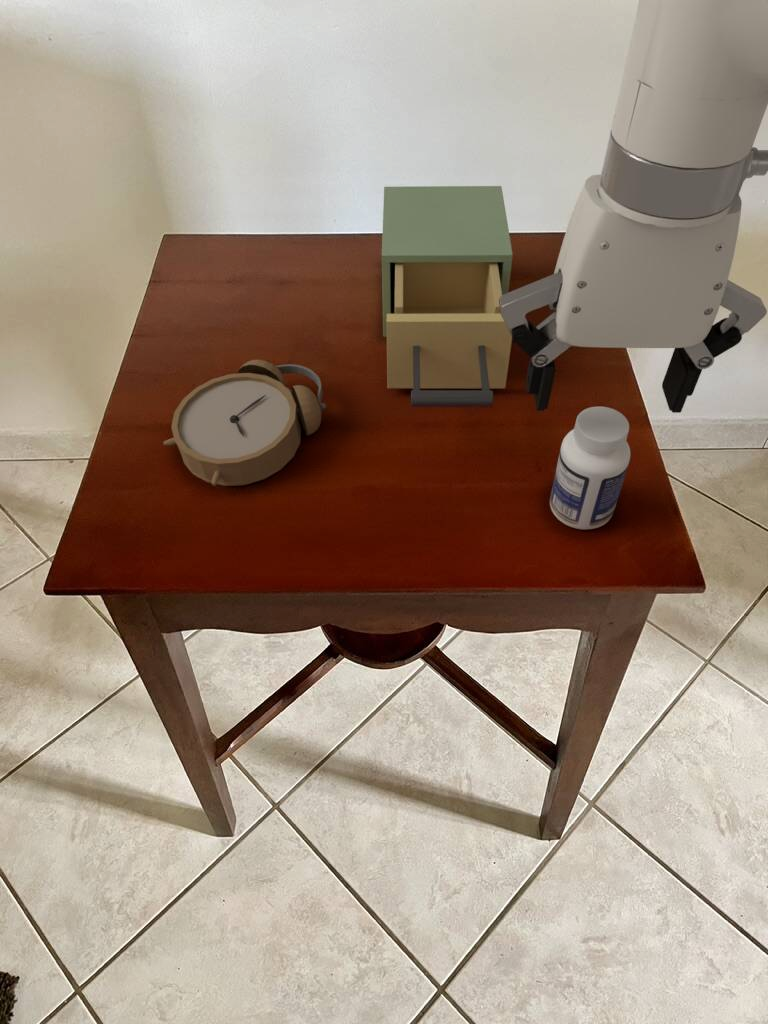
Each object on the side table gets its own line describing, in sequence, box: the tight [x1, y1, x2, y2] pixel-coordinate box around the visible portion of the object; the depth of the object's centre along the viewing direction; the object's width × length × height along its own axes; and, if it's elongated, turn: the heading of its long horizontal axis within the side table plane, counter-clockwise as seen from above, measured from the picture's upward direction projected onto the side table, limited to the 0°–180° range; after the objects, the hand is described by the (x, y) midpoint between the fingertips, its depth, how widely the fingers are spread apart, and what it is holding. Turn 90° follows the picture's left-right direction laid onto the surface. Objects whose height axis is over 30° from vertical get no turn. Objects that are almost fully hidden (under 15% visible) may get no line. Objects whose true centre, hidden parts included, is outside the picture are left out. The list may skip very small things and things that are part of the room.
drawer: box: [386, 262, 513, 408], centre depth 74 cm, size 20×11×8 cm, turn 179°
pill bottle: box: [549, 406, 631, 531], centre depth 62 cm, size 5×5×10 cm
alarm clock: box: [163, 359, 327, 487], centre depth 71 cm, size 11×5×15 cm
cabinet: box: [381, 185, 514, 338], centre depth 83 cm, size 14×13×10 cm
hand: (604, 399), depth 57 cm, fingers open, 9 cm apart
